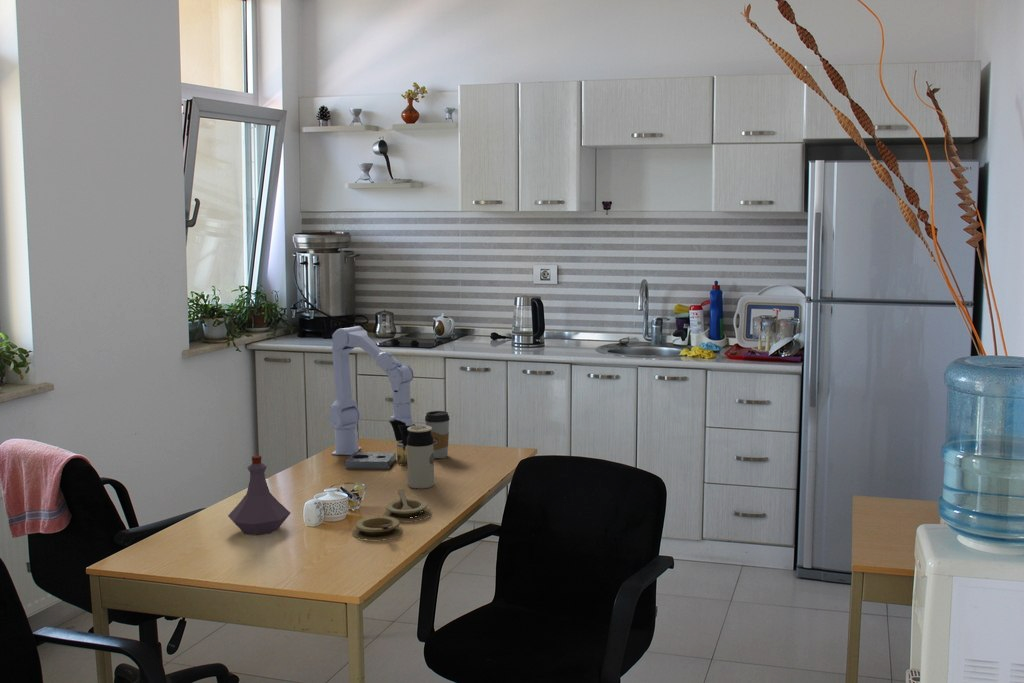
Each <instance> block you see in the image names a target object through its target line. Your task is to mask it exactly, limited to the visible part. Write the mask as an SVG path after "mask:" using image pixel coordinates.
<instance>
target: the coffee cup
mask: <svg viewBox="0 0 1024 683" xmlns="http://www.w3.org/2000/svg"><path fill="white" fill-rule="evenodd" d="M424 421H425V426H430V427H432V430H431V435H432V437H433V451H434V458H442V457H446V456H448V455H449V454H448V451H449V436H450V432H449V429H450V428H449V427H450V426H449V425H450V415H449V412H448V411H444V410H433V411H432V410H431V411H428V412H426V414H425V417H424ZM446 458H447V457H446ZM442 459H443V458H442Z"/></svg>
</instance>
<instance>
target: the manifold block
mask: <svg viewBox="0 0 1024 683" xmlns="http://www.w3.org/2000/svg"><path fill="white" fill-rule="evenodd" d="M396 457H397V452H386V451H385V452H382V451H381V452H380V451H379V452H378V451H377V452H376V451H375V452H374V451H372V452H371V451H369V452H368V451H358V452H354V453H353V454H352V455H349V457H348V458H347V459H346V460H345V461H344V463H345V466H344V467H345V469H346V470H347V469H349V470H350V469H352V470H355V469H356V470H389V469H390V467H391V466H393V464H394V463H393V462H395V461H396V460H397V458H396Z"/></svg>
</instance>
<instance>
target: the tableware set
mask: <svg viewBox="0 0 1024 683" xmlns="http://www.w3.org/2000/svg"><path fill="white" fill-rule="evenodd" d="M397 492H398V493H397V494H398V496H399V498H400V499H397V500H393V501H390V502H388V503H387V504H386V506H385V509H386V510H385V511H384V512H383V516H381V515H378V516H368V517H364V518H361V519H359V520H357V521H356V522H355V529H353V530H352V532H351V535H352V537H354V538H355V537H356V538H355V539H357V538H360V539H367V540H380V541H384V540H383V539H387V540H391V539H390V538H392V539H395V538H397V536H398V537H399V536H401V535H402V534H403V533H402V532H404V529H403V528H402V527H401V526H400V523H403V522H402V521H413V522H416V521H415V520H419V521H421V520H420V519H423V520H425V519H424V518H426V517H428V516H430V515H431V516H432V514H431V513H433V512H432V510H431V509H430V508H428V506H429V505H428V502H426V501H425V500H423V499H420V498H406V497H407V496H406V494H405V493H406V492H405V489H404V488H399V489H398V490H397ZM421 511H423V512H421ZM421 514H422V515H421ZM415 516H417V517H415ZM431 516H430V517H431ZM398 517H399V518H398ZM410 517H413V518H410ZM428 518H429V517H428ZM426 519H427V518H426ZM399 521H400V522H399ZM401 533H402V534H401ZM400 534H401V535H400ZM394 537H395V538H394ZM360 539H359V540H360ZM367 540H366V541H367Z"/></svg>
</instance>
